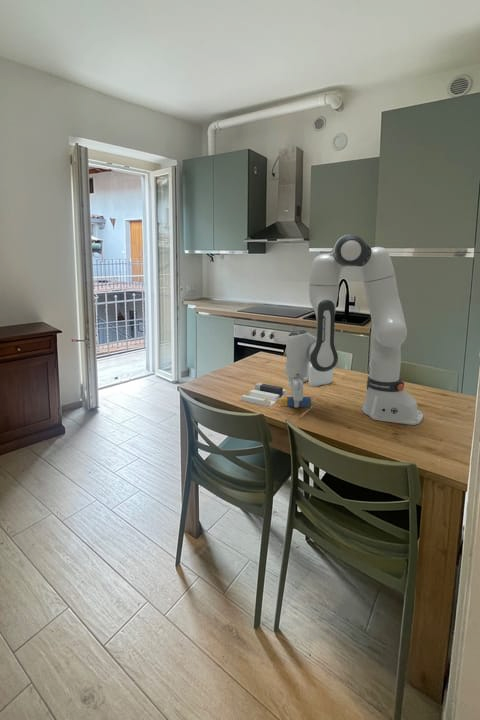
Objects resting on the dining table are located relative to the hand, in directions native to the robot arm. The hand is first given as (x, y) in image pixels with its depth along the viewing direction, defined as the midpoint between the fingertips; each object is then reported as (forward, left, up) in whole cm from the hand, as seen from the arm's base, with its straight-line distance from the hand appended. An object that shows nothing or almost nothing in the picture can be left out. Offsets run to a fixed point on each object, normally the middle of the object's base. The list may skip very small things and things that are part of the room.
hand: (295, 403), depth 165 cm
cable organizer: (+5, -33, -2) cm, 33 cm away
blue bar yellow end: (0, 0, -2) cm, 2 cm away
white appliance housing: (+15, -1, -2) cm, 15 cm away
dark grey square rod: (+15, -5, -1) cm, 16 cm away
